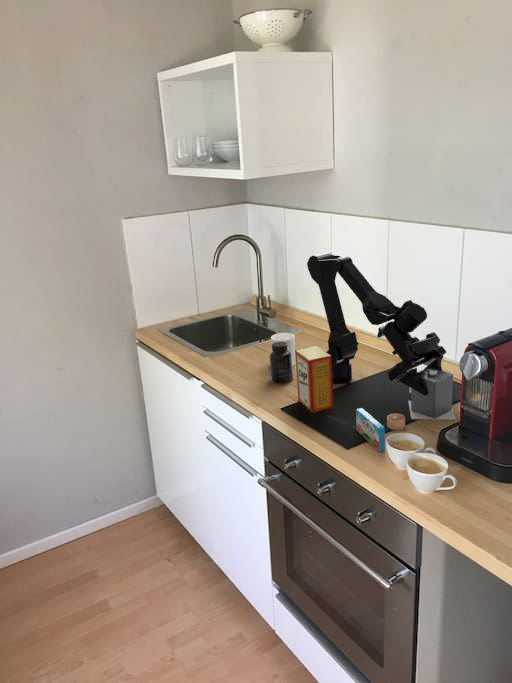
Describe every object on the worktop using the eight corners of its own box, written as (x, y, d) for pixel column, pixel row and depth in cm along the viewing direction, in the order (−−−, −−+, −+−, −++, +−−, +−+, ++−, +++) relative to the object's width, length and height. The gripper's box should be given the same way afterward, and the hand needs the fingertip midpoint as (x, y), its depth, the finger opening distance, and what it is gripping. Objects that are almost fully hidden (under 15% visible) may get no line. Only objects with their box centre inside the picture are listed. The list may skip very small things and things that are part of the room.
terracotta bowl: (387, 432, 144) (387, 421, 143) (386, 423, 148) (386, 413, 147) (405, 432, 143) (405, 421, 142) (404, 424, 147) (404, 413, 146)
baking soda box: (298, 400, 166) (295, 348, 161) (318, 396, 168) (316, 344, 162) (311, 413, 157) (308, 359, 152) (333, 408, 159) (331, 354, 154)
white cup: (269, 368, 192) (267, 339, 188) (277, 359, 198) (275, 332, 195) (291, 369, 189) (290, 341, 185) (299, 361, 196) (297, 333, 192)
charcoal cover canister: (411, 410, 153) (411, 371, 149) (428, 401, 157) (428, 363, 153) (435, 418, 147) (436, 378, 144) (451, 409, 151) (453, 370, 148)
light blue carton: (385, 450, 136) (384, 427, 134) (379, 452, 135) (379, 428, 133) (361, 429, 147) (361, 407, 145) (356, 430, 146) (355, 408, 144)
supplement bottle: (296, 376, 183) (294, 341, 179) (288, 385, 177) (285, 348, 173) (276, 374, 186) (273, 339, 182) (268, 382, 180) (265, 346, 176)
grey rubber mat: (411, 420, 149) (411, 418, 148) (408, 402, 159) (408, 400, 159) (455, 421, 146) (455, 419, 146) (450, 402, 157) (450, 400, 156)
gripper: (396, 334, 143) (433, 386, 138) (441, 316, 153) (477, 364, 148) (372, 356, 151) (406, 407, 146) (416, 338, 162) (449, 385, 157)
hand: (436, 390), depth 149 cm, fingers closed on charcoal cover canister, 7 cm apart
